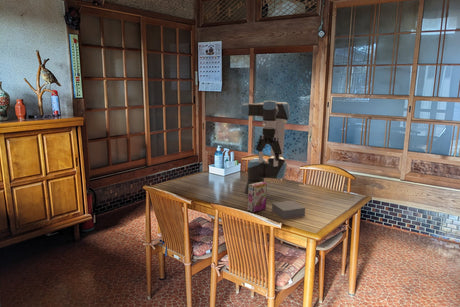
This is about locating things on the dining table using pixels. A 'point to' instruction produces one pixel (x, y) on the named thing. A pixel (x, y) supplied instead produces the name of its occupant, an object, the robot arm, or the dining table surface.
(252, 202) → the candy bar box
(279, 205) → the block
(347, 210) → the dining table surface
